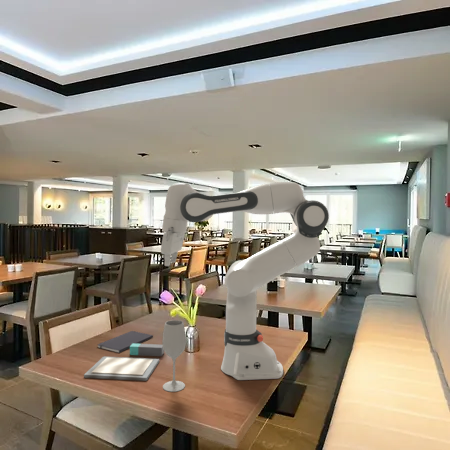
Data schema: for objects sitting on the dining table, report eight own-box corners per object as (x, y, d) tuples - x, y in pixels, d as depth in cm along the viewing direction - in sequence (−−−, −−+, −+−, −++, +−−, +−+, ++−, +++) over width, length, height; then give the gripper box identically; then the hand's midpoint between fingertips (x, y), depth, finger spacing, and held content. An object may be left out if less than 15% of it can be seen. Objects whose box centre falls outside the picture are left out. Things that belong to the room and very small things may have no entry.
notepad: (159, 361, 139) (159, 358, 139) (146, 380, 124) (146, 376, 124) (103, 359, 141) (103, 355, 141) (83, 377, 125) (83, 373, 125)
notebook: (119, 354, 148) (153, 338, 167) (119, 350, 148) (153, 335, 166) (96, 348, 154) (131, 333, 173) (96, 344, 154) (131, 330, 172)
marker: (163, 353, 148) (163, 344, 148) (161, 356, 145) (161, 347, 145) (132, 351, 149) (132, 343, 149) (129, 354, 146) (129, 346, 146)
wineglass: (157, 386, 120) (157, 322, 119) (176, 379, 125) (176, 318, 124) (171, 394, 114) (171, 328, 114) (190, 386, 120) (190, 323, 119)
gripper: (177, 229, 125) (172, 269, 125) (187, 227, 145) (183, 261, 146) (159, 226, 125) (154, 266, 126) (172, 225, 146) (168, 259, 146)
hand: (170, 264), depth 136 cm, fingers open, 8 cm apart
